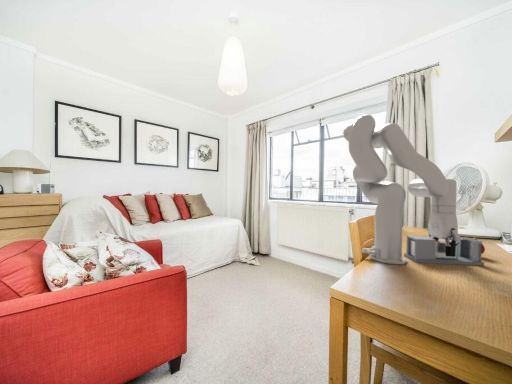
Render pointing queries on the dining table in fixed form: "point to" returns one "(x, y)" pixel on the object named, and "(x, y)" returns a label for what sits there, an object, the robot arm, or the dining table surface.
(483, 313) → the dining table surface
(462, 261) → the board
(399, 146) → the robot arm
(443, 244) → the grey rectangular block
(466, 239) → the socket
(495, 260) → the dining table surface
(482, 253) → the onion
